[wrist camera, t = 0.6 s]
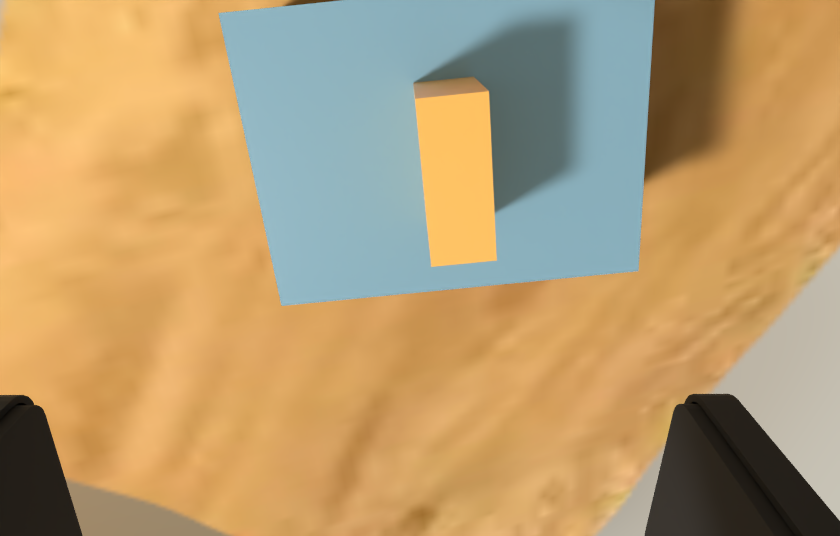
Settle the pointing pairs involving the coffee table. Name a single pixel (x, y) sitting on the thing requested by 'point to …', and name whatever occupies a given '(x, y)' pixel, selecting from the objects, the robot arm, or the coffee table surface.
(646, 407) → the coffee table surface
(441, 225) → the tub lid
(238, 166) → the coffee table surface
